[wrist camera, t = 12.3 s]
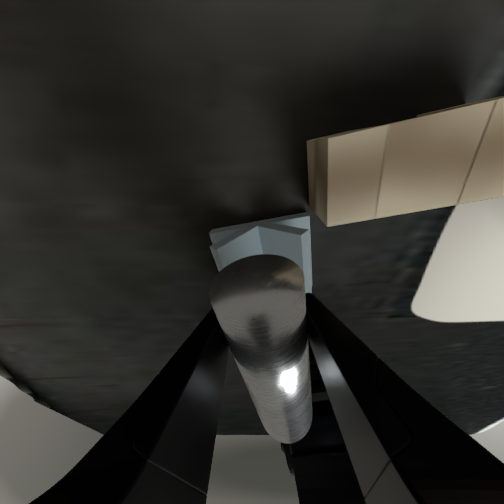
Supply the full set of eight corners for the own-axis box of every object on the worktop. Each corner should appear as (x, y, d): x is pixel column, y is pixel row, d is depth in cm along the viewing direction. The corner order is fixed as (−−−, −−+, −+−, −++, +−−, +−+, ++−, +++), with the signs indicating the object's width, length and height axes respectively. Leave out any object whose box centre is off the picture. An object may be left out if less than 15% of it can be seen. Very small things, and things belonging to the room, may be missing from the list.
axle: (305, 376, 13) (319, 443, 10) (259, 378, 14) (259, 443, 11) (295, 249, 8) (316, 313, 5) (219, 260, 8) (195, 324, 5)
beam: (441, 181, 14) (513, 195, 10) (309, 206, 16) (327, 226, 12) (465, 103, 12) (572, 82, 8) (306, 140, 13) (328, 138, 9)
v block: (310, 280, 20) (322, 310, 16) (232, 290, 21) (227, 321, 17) (306, 212, 16) (321, 231, 12) (211, 229, 17) (198, 252, 13)
